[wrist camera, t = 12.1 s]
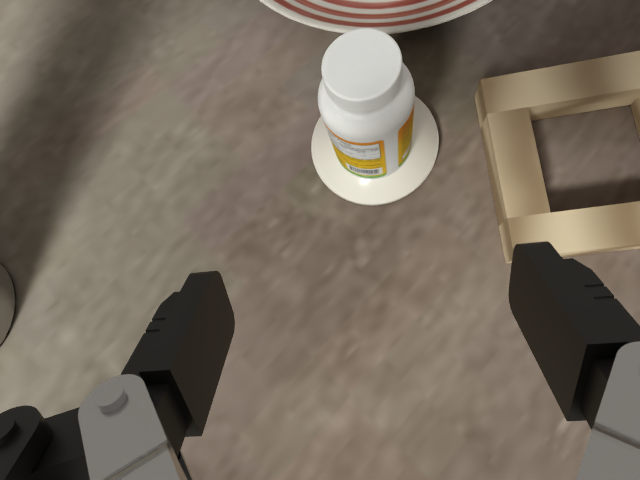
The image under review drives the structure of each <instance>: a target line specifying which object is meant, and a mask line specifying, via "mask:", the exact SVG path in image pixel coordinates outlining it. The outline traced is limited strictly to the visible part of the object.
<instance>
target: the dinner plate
mask: <svg viewBox="0 0 640 480" xmlns="http://www.w3.org/2000/svg"><path fill="white" fill-rule="evenodd" d="M259 1H261V2H262V3H263V4H265V5H266V6H268V7H269V8H271V9H272V10H274V11H276V12H278V13H279V14H281V15H283V16H285V17H287V18H289V19H292V20H294V21H297V22H300V23H302V24H305V25H308V26H311V27H315V28H319V29H323V30H327V31H333V32H339V33H346V32H349V31H352V30H355V29H360V28H372V29H377V30H380V31H383V32H385V33H386V34H392V33H401V32H408V31H412V30H417V29H421V28H427V27H431V26H434V25H437V24H441V23H444V22H447V21H450V20H452V19H455V18H457V17H460V16H463V15H465V14H467V13H470V12H472V11H474V10H476V9H478V8H480V7H482V6H484V5H486V4H488V3H489V2H491V1H493V0H259Z"/></svg>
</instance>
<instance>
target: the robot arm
mask: <svg viewBox="0 0 640 480" xmlns="http://www.w3.org/2000/svg"><path fill="white" fill-rule="evenodd" d="M509 302H510V307H511V310H512V313H513V315H514V317H515V319H516V321H517V323H518V325H519V327H520V329H521V331H522V333H523V335H524V337H525V339H526V341H527V343H528V345H529V347H530V349H531V351H532V353H533V355H534V357H535V359H536V361H537V363H538V365H539V367H540V369H541V371H542V373H543V375H544V377H545V379H546V381H547V383H548V385H549V386H550V388H551V390H552V392H553V394H554V396H555V398H556V400H557V402H558V404H559V406H560V408H561V410H562V412H563V414H564V416H565V418H566V420H567V421H582V420H587V422H588V424H589V426H590V428H591V430H592V431H591V434H590V437H589V440H588V443H587V447H586V450H585V453H584V456H583V459H582V462H581V465H580V468H579V471H578V474H577V477H576V480H640V326H639V325H638V323H637V322H636V321H635V320H634V319H633V317H632V316H631V315H630V314H629V313H628V312H627V310H626V309H625V308H624V307H623V306H622V305H621V303H620V302H619V301H618V300H617V299H614V295H613V294H612V293H611V292H610V291H609V289H608V288H607V287H604V284H603V282H602V281H601V280H600V279H599V278H598V277H597V275H596V274H595V273H594V272H593V271H592V270H591V269H590V268H588V267H586V266H584V265H583V264H581V263H579V262H578V261H576V260H574V259H573V258H572V259H563V258H562V257H561V256H560V255H559V253H558V252H557V251H556V249H555V248H554V247H553V246H552V244H551V243H550V242H548V241H544V242H533V243H522V244H516V245H515V247H514V250H513V257H512V266H511V275H510V284H509ZM14 307H15V294H14V287H13V284H12V281H11V278H10V276H9V274H8V273H7V271H6V269H5V268H4V267H3V266H2V265H1V264H0V344H1V343H2V341H3V340H4V339H5V337H6V334H7V332H8V330H9V328H10V326H11V322H12V319H13V315H14ZM234 327H235V321H234V313H233V310H232V307H231V304H230V301H229V298H228V295H227V292H226V289H225V286H224V283H223V280H222V277H221V275H220V273H219V272H218V271H210V272H199V273H191V274H190V275H189V276H188V278H187V280H186V281H185V283H184V285H183V287H182V289H181V291H180V292H174V293H173V294H171V295H170V296H169V297H168V298H167V299H166V300H165V301H164V302H163V303H162V304H161V305H160V306H159V308H158V309H157V311H156V313H155V315H154V317H153V318H152V322H150V324H149V325H148V327H147V329H146V333H144V334H143V336H142V338H141V340H140V341H139V343H138V345H137V347H136V348H135V350H134V352H133V354H132V355H131V357H130V359H129V361H128V363H127V364H126V366H125V368H124V370H123V371H122V373H121V375H119V376H116V377H113V378H110V379H108V380H106V381H104V382H103V383H101V384H100V385H98V386H97V387H96V388H94V389H93V390H92V391H91V392H90V393H89V394H88V395H87V396H86V398H85V399H84V400H83V402H82V404H81V406H80V407H79V408H76V409H73V410H70V411H67V412H64V413H61V414H58V415H55V416H52V417H48V418H45V419H44V418H43V416H42V415H41V414H40V412H39V411H38V410H37V409H36V408H35V407H32V406H19V407H15V408H12V409H9V410H7V411H5V412H3V413H1V414H0V480H194V479H193V477H192V475H191V472H190V470H189V467H188V465H187V463H186V460H185V458H184V456H183V454H182V452H181V450H180V449H181V447H182V444H183V441H184V438H185V437H189V436H202V433H203V430H204V427H205V424H206V421H207V417H208V414H209V411H210V408H211V404H212V401H213V398H214V395H215V392H216V388H217V385H218V382H219V379H220V376H221V372H222V369H223V366H224V363H225V360H226V356H227V353H228V350H229V347H230V343H231V340H232V337H233V334H234Z"/></svg>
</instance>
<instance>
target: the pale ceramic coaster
mask: <svg viewBox="0 0 640 480" xmlns="http://www.w3.org/2000/svg"><path fill="white" fill-rule="evenodd" d="M438 146H439V136H438V129H437V125H436V122H435V120H434V117H433V115H432V114H431V112H430V110H429V109H428V108H427V106H426V105H425V104H424V103H423V102H422V101H421V100H420V99H419V98H417V97H416V96H415V102H414V116H413V131H412V144H411V150H410V153H409V156H408V158H407V159H406V161H405V163H404V164H403V165H402V166H401V167H400V168H399V169H398V170H397V171H396V172H394V173H393V174H391V175H389V176H387V177H384V178H381V179H375V180H368V179H362V178H359V177H356V176H354V175H352V174H350V173H349V172H348V171H346V170H345V169H344V168H343V166H342V165H341V164H340V162H339V160H338V158H337V156H336V153H335V151H334V148H333V145H332V142H331V140H330V137H329V135H328V132H327V129H326V127H325V124H324V122H323V119H322V116H320V118H319V120H318V122H317V124H316V127H315V129H314V133H313V137H312V144H311V149H312V158H313V162H314V165H315V168H316V170H317V172H318V174H319V176H320V178H321V179H322V181H323V182H324V184H325V185H326V186H327V187H328V188H329V189H330V190H331V191H332V192H333V193H334V194H336V195H337V196H339V197H340V198H342V199H344V200H346V201H349V202H352V203H355V204H359V205H365V206H379V205H385V204H390V203H393V202H396V201H399V200H401V199H403V198H405V197H407V196H408V195H410V194H411V193H413V192H414V191H415V190H416V189H417V188H419V187H420V186H421V185H422V183H423V182H424V181H425V180H426V178H427V177H428V176H429V174H430V172H431V170H432V168H433V166H434V164H435V161H436V157H437V152H438Z"/></svg>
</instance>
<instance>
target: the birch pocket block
mask: <svg viewBox="0 0 640 480" xmlns="http://www.w3.org/2000/svg"><path fill="white" fill-rule="evenodd" d="M475 102H476V107H477V113H478V118H479V123H480V129H481V134H482V139H483V145H484V150H485V155H486V161H487V166H488V171H489V177H490V182H491V187H492V193H493V198H494V203H495V209H496V214H497V219H498V225H499V230H500V235H501V241H502V246H503V251H504V257H505V262H506V263H512V257H513V250H514V247H515V245H516V244H522V243H533V242H544V241H548V242H550V243H551V244H552V246H553V247H554V248H555V249H556V251H557V252H558V253H559V255H560V256H561V257H568V256H577V255H586V254H594V253H603V252H612V251H621V250H630V249H639V248H640V201H637V202H629V203H622V204H614V205H606V206H598V207H590V208H583V209H575V210H567V211H559V212H552V213H551V212H550V207H549V202H548V198H547V193H546V189H545V184H544V179H543V175H542V170H541V165H540V161H539V156H538V151H537V147H536V142H535V138H534V133H533V128H532V124H531V121H534V120H540V119H546V118H552V117H558V116H564V115H571V114H577V113H583V112H589V111H595V110H601V109H608V108H614V107H620V106H626V105H630V106H631V110H632V113H633V117H634V121H635V124H636V128H637V132H638V135H639V139H640V51H635V52H629V53H624V54H618V55H612V56H607V57H601V58H596V59H590V60H585V61H579V62H574V63H568V64H563V65H557V66H552V67H546V68H540V69H535V70H529V71H524V72H518V73H513V74H507V75H502V76H496V77H491V78H485V79H480V82H479V85H478V88H477V91H476V94H475Z"/></svg>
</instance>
